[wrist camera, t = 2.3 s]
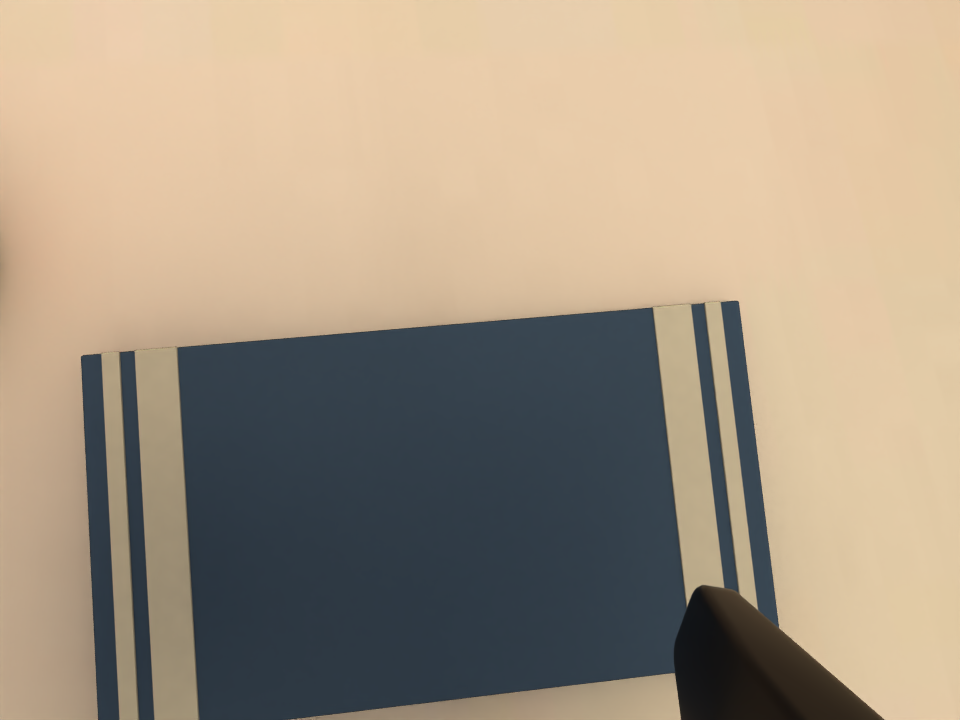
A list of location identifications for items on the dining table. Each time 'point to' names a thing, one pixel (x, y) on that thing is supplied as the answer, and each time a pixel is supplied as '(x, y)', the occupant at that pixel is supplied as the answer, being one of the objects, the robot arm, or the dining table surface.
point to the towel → (415, 511)
